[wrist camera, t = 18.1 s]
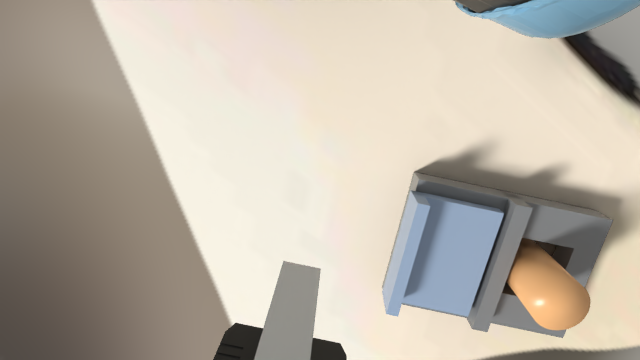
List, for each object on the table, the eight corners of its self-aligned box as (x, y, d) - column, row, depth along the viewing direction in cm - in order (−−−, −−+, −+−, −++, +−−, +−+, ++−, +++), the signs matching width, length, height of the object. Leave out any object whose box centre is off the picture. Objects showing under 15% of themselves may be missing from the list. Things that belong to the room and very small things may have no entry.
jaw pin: (550, 244, 39) (599, 287, 32) (532, 284, 40) (576, 336, 33) (505, 232, 39) (543, 273, 32) (488, 273, 40) (521, 322, 33)
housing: (414, 171, 38) (422, 184, 34) (596, 210, 38) (626, 227, 34) (382, 286, 41) (386, 311, 37) (549, 321, 42) (572, 349, 37)
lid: (410, 190, 36) (417, 203, 32) (498, 208, 36) (515, 223, 32) (382, 291, 38) (386, 313, 35) (464, 309, 38) (475, 332, 35)
